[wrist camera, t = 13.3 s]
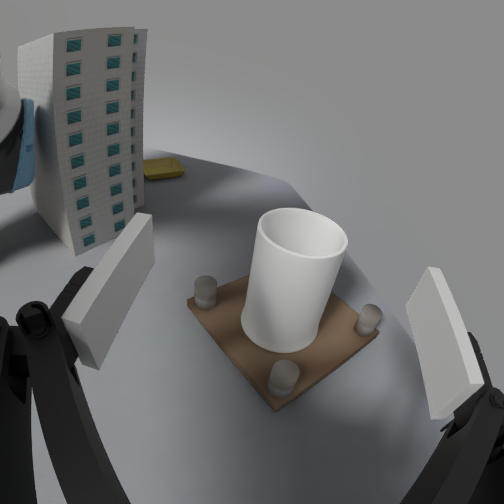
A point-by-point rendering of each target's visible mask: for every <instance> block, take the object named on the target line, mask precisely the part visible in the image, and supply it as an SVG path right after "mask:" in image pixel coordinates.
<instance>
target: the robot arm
mask: <svg viewBox="0 0 504 504" xmlns="http://www.w3.org/2000/svg"><path fill="white" fill-rule="evenodd" d="M34 178H35V155H34V101H33V100H32V99H26V98H22V99H21V98H20V95H19V92H18V90H17V89H16V88H15V87H14V86H13V85H12V84H11V83H9V82H6V81H4V76H3V69H2V63H1V56H0V195H2V194H6V193H13V192H14V191H15V190H18V189H21V188H24V187H27V186H29V185H30V184H31V183H32V182H33V180H34ZM154 262H155V258H154V242H153V222H152V215H151V214H145V213H139V212H137V213H136V214H135V215H134V217H133V218H132V219H131V221H130V222H129V223H128V224H127V226H126V227H125V228H124V229H123V231H122V232H121V233H120V235H119V236H118V237H117V239H116V240H115V241H114V243H113V244H112V245H111V247H110V248H109V249H108V251H107V252H106V253H105V255H104V256H103V257H102V259H101V260H100V261H99V263H98V264H97V266H96V267H95V268H90V267H86V266H85V267H83V268H82V269H80V270H79V271H77V272H76V273H75V274H74V275H73V277H72V278H71V279H70V281H69V283H68V284H67V285H66V286H65V288H64V289H63V291H62V292H61V293H60V295H59V296H58V297H57V299H56V300H55V302H54V303H53V305H52V306H51V308H50V309H48V306H47V305H46V304H45V303H43V302H40V301H32V302H29V303H27V304H25V305H24V306H22V307H21V308H20V309H19V311H18V313H17V314H16V322H17V324H18V326H9V324H8V322H7V320H6V319H5V318H3V317H1V316H0V504H37V497H36V490H35V481H34V471H33V458H32V438H31V393H32V389H33V394H34V399H35V404H36V408H37V412H38V416H39V420H40V424H41V428H42V432H43V435H44V439H45V442H46V445H47V449H48V452H49V455H50V458H51V461H52V464H53V467H54V470H55V473H56V476H57V479H58V481H59V484H60V487H61V489H62V492H63V494H64V497H65V499H66V502H67V504H131V503H130V501H129V499H128V498H127V496H126V494H125V492H124V490H123V488H122V486H121V484H120V482H119V480H118V477H117V475H116V473H115V471H114V469H113V467H112V465H111V462H110V460H109V458H108V456H107V453H106V451H105V448H104V446H103V444H102V441H101V439H100V436H99V434H98V431H97V429H96V426H95V423H94V421H93V418H92V415H91V413H90V410H89V407H88V404H87V401H86V398H85V395H84V392H83V389H82V386H81V383H80V379H79V376H78V373H77V369H76V367H75V365H74V363H75V361H76V359H77V358H78V357H79V359H80V361H81V363H82V365H85V366H88V367H91V368H94V369H97V370H99V369H100V367H101V365H102V363H103V361H104V359H105V357H106V355H107V353H108V351H109V348H110V346H111V344H112V342H113V340H114V338H115V336H116V334H117V332H118V330H119V328H120V326H121V324H122V322H123V320H124V318H125V316H126V315H127V313H128V311H129V309H130V307H131V305H132V303H133V301H134V299H135V297H136V295H137V294H138V292H139V290H140V288H141V286H142V284H143V282H144V281H145V279H146V277H147V275H148V273H149V271H150V270H151V268H152V266H153V264H154ZM405 307H406V310H407V314H408V318H409V321H410V325H411V329H412V333H413V337H414V341H415V345H416V349H417V353H418V357H419V361H420V366H421V370H422V375H423V380H424V384H425V389H426V395H427V400H428V405H429V411H430V417H431V420H433V419H445V418H447V417H448V416H449V415H450V414H451V413H454V417H455V418H454V419H453V420H452V421H450V422H449V423H448V424H447V425H445V426H444V427H443V428H442V429H441V430H440V431H441V432H442V431H444V430H445V429H446V431H445V433H444V435H443V437H442V439H441V440H440V442H439V444H438V446H437V448H436V449H435V451H434V453H433V454H432V456H431V458H430V459H429V461H428V463H427V464H426V466H425V467H424V469H423V471H422V472H421V474H420V475H419V477H418V478H417V480H416V481H415V483H414V484H413V486H412V487H411V489H410V490H409V492H408V493H407V494H406V496H405V497H404V499H403V500H402V501H401V503H400V504H504V394H503V393H502V392H501V391H500V390H499V389H497V388H493V386H492V384H491V380H490V377H489V374H488V371H487V368H486V365H485V362H484V360H483V356H482V353H480V351H481V350H480V348H479V345H478V342H477V340H476V339H475V338H474V336H473V335H472V333H471V332H467V331H466V328H465V326H464V323H463V321H462V318H461V315H460V313H459V311H458V308H457V306H456V303H455V301H454V299H453V296H452V294H451V292H450V289H449V287H448V285H447V283H446V281H445V278H444V276H443V274H442V272H441V270H440V269H438V268H434V267H429V266H428V267H427V269H426V271H425V273H424V274H423V276H422V278H421V280H420V282H419V284H418V286H417V288H416V289H415V291H414V293H413V294H412V296H411V298H410V299H409V301H408V303H407V304H406V306H405Z"/></svg>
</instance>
